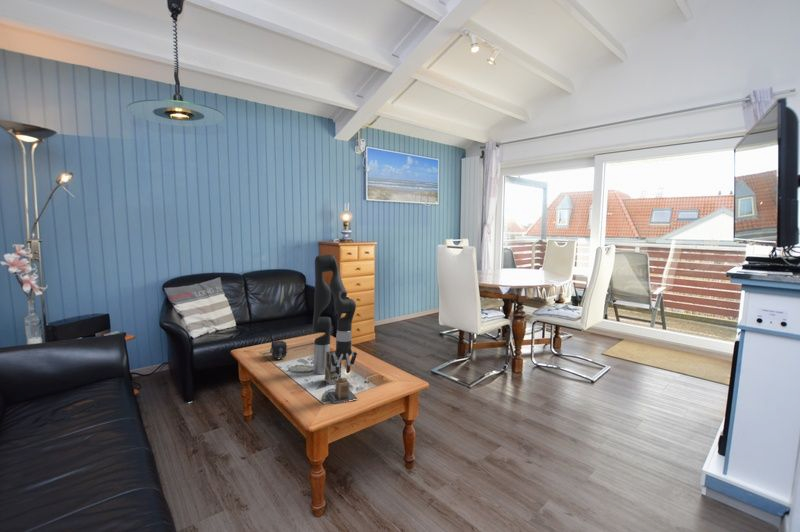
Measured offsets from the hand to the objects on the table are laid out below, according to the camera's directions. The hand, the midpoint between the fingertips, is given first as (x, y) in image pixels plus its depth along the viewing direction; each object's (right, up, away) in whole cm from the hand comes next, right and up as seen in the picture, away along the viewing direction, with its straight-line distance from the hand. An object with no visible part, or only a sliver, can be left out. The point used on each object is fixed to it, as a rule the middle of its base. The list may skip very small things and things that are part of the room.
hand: (342, 373), depth 180 cm
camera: (-53, -9, +64) cm, 84 cm away
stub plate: (0, -12, 0) cm, 12 cm away
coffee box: (-9, -12, +23) cm, 27 cm away
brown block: (0, -11, 0) cm, 11 cm away
